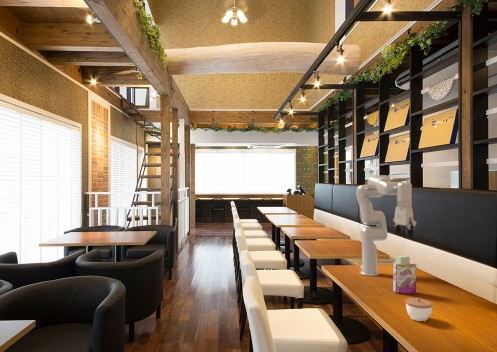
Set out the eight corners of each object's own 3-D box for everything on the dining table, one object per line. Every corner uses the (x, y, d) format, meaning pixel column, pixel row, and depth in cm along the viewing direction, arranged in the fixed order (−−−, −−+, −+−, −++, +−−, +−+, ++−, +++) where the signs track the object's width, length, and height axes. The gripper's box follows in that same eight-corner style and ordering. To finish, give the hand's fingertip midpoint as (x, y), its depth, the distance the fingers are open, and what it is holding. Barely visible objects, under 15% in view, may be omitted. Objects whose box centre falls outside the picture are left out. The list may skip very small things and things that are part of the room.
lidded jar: (409, 312, 165) (409, 292, 165) (434, 318, 158) (434, 297, 158) (402, 319, 157) (402, 298, 157) (429, 325, 150) (428, 303, 150)
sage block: (404, 262, 197) (395, 263, 196) (404, 255, 198) (395, 255, 196) (409, 263, 194) (400, 264, 192) (409, 256, 194) (400, 257, 192)
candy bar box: (395, 293, 193) (395, 264, 193) (392, 290, 198) (392, 261, 198) (416, 294, 192) (416, 264, 192) (413, 291, 197) (413, 262, 197)
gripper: (388, 203, 203) (388, 233, 203) (409, 206, 187) (409, 238, 187) (398, 203, 205) (398, 232, 205) (421, 205, 189) (421, 237, 189)
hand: (404, 235), depth 196 cm, fingers open, 9 cm apart
